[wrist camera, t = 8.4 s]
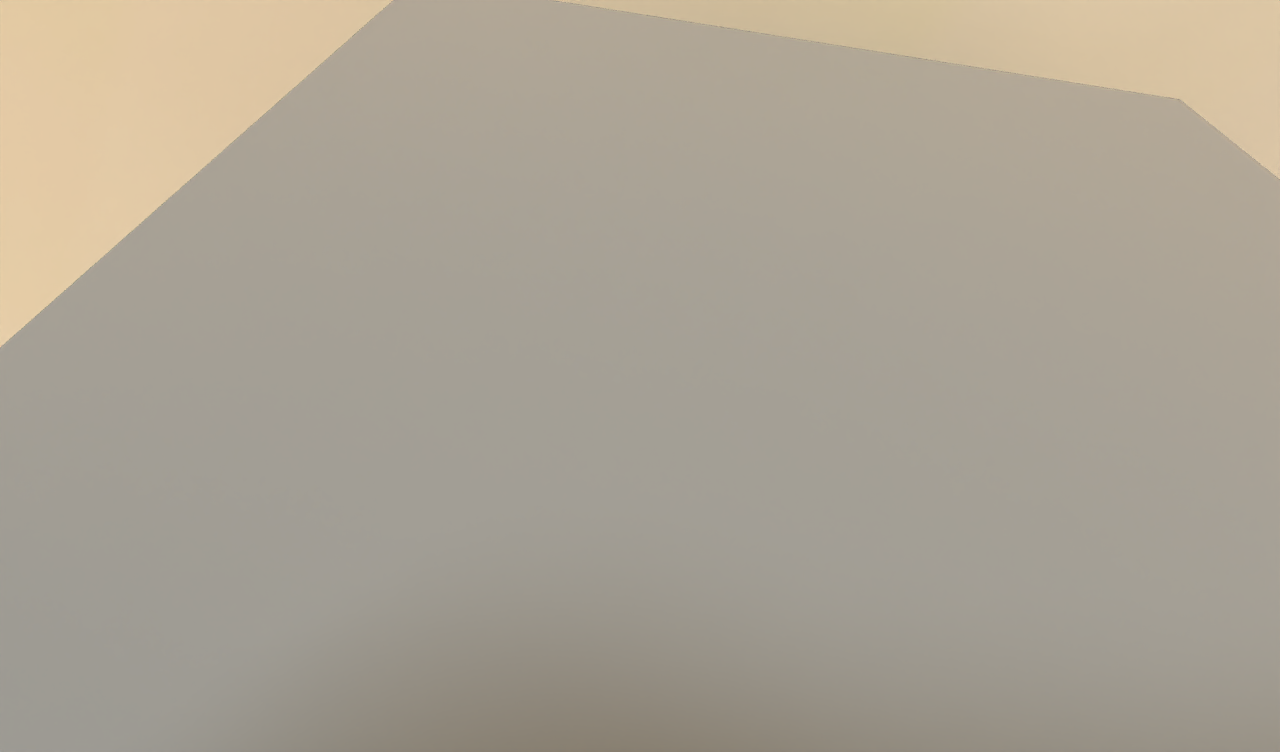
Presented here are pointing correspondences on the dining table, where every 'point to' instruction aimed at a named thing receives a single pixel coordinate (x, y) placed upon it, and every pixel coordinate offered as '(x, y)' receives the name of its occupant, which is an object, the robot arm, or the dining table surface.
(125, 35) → the dining table surface
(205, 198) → the grey faceted block
